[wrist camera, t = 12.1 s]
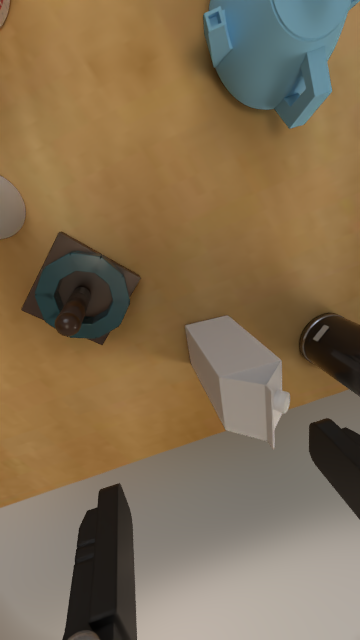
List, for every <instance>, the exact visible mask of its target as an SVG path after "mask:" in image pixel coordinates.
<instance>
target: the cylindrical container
mask: <svg viewBox="0 0 360 640" xmlns="http://www.w3.org/2000/svg"><path fill="white" fill-rule="evenodd" d="M25 216H26V210H25V204H24V201H23V199H22V197H21V195H20V193H19V191H18V190H17V189H16V187H15V186H14V185H13V184H12V183H11V182H9V181H8V180H7V179H5V178H4V177H2V176H0V239H5V238H8V237H11V236H13V235H14V234H16V233H17V232H18V231H19V230H20V229H21V227H22V226H23V224H24V221H25Z"/></svg>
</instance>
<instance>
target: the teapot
mask: <svg viewBox="0 0 360 640" xmlns="http://www.w3.org/2000/svg"><path fill="white" fill-rule="evenodd" d="M359 1H360V0H210V4H209V12H206V13H204V15H203V20H204V34H205V38H206V42H207V45H208V49H209V52H210V56H211V59H212V63H213V66H214V67H215V68H216V71H217V73H218V75H219V77H220V79H221V81H222V83H223V84H224V86H225V87H226V89H227V90H228V91H229V92H230V93H231V94H232V96H234V97H235V98H236V99H237V100H238V101H240V102H241V103H243V104H244V105H247V106H249V107H251V108H255V109H264V110H269V109H275V111H276V112H277V113H278V115H279V116H280V117H281V118H282V120H283V121H284V122H285V124H286V125H287V126H288V128H289V129H290V128H294V127H297V126H301V125H304V124H305V123H306V122H307V121H308V119H309V118H310V117H311V116H312V115H313V113H314V112H315V111H316V110H317V109H318V107H319V106H320V105H321V104H322V103H323V102H324V100H325V99H326V98H327V97H328V96H329V94H330V93H331V92H332V88H331V82H330V76H329V70H328V64H327V61H328V59H329V58H330V56H331V54H332V52H333V50H334V48H335V46H336V43H337V41H338V39H339V36H340V34H341V31H342V29H343V26H344V23H345V20H346V17H347V14H348V11H349V10H350V9H351V8H352V7H353V6H355V5H356V4H357V3H358V2H359Z"/></svg>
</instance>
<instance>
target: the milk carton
mask: <svg viewBox="0 0 360 640" xmlns="http://www.w3.org/2000/svg"><path fill="white" fill-rule="evenodd" d="M185 331H186V337H187V343H188V349H189V355H190V361H191V365H192V367H193V369H194V371H195V372H196V374H197V376H198V378H199V380H200V382H201V384H202V386H203V388H204V390H205V392H206V393H207V395H208V397H209V399H210V401H211V403H212V405H213V407H214V409H215V411H216V413H217V414H218V416H219V418H220V420H221V422H222V424H223V426H224V428H225V430H227V431H231V432H234V433H238V434H242V435H246V436H250V437H253V438H257V439H261V440H265V441H268V443H269V444H270V446H271V447H272V449H275V437H274V429H275V427H276V425H277V423H278V421H279V419H280V417H281V415H282V413H283V414H285V413H286V412H287V410H288V407H289V403H290V394H289V392H285V391H282V361H281V360H280V359H279V358H278V357H277V356H276V355H275V354H273V353H272V352H271V351H270V350H269V349H267V348H266V347H265V346H264V345H263V344H262V343H260V342H259V341H258V340H257V339H256V338H254V337H253V336H252V335H251V334H250V333H248V332H247V331H246V330H245V329H244V328H242V327H241V326H240V325H239V324H238V323H237V322H235V321H234V320H233V319H232V318H231V317H229V316H228V315H226V316H222V317H218V318H214V319H210V320H205V321H201V322H197V323H193V324H189V325H185Z"/></svg>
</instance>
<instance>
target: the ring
mask: <svg viewBox="0 0 360 640" xmlns="http://www.w3.org/2000/svg"><path fill="white" fill-rule="evenodd" d="M75 271H81V272H90V273H95V274H96V275H98V276H99V277H100V278H101V279H103V280H104V281H105V282H106V283H107V284H109V287H110V291H111V295H112V300H111V302H110V304H109V307H108V309H107V310H105V311H103V312H102V313H100V314H98V315H96V316H95V317H87V316H84V319H83V322H82V325H81V328H80V330H79V331H78V332H77V333H76V334H74V335H72V336H69V337H70V338H91V339H96V337H97V338H99V337H101V336H103V335H105V334H106V333H108V332H110V331H112V330H113V329H115V328H117V327H119V325H120V324H121V322H122V320H123V318H124V315H125V313H126V311H127V309H128V306H129V304H130V298H129V293H128V289H127V285H126V281H125V276H124V273H123V271H122V270H120V269H119V268H118V267H117V266H116V265H115V264H113V263H112V262H111V261H110V260H109V259H108V258H107V257H105V256H104V255H102V254H100V253H92V252H84V251H76V250H75V251H71V252H69V253H68V254H66V255H64V256H62V257H61V258H59V259H57V260H55V261H53V262H52V263H50V264H48V265H47V266H45V268H43V270H42V273H41V276H40V279H39V282H38V284H37V287H36V290H35V298H36V301H37V303H38V306H39V309H40V311H41V314H42V316H43V319H44V320H46V321H45V322H46V323H48V324H49V325H51V326H52V327H54V328H55V320H56V318H57V317H58V315H59V313H60V312H61V310H62V309H63V307H64V305H63V302H62V300H61V297H60V294H59V291H58V290H59V288H60V285H61V282H62V280H63V278H64V277H66V276H68V275H69V274H71V273H73V272H75ZM55 329H56V328H55ZM67 337H68V336H67Z"/></svg>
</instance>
